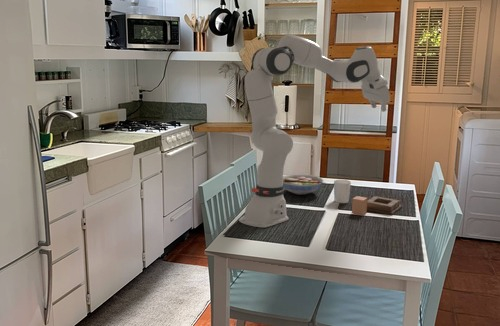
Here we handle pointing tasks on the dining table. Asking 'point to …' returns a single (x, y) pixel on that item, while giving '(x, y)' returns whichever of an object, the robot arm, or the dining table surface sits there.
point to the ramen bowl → (301, 183)
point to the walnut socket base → (383, 205)
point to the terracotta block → (359, 205)
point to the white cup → (341, 191)
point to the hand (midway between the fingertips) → (379, 109)
